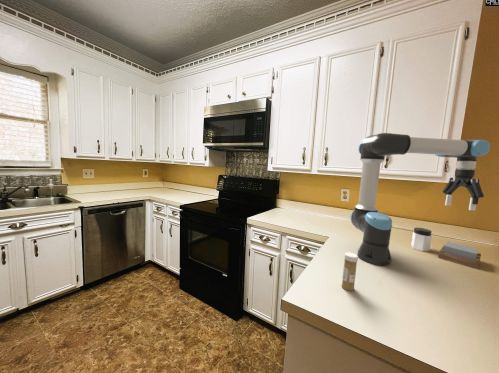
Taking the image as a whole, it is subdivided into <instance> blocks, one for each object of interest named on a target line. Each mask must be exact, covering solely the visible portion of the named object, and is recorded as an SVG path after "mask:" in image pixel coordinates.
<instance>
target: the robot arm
mask: <svg viewBox="0 0 499 373" xmlns="http://www.w3.org/2000/svg"><path fill="white" fill-rule="evenodd" d="M357 148H358V149H357V150H358V153H359V154H360V159H359V160H360V161H361V162H362V167H361V176H360V177H361V178H360V183H359V184H360V185H359V193H358V194H359V195H358V200H357V201H358V202H357V204H355V205H354V209H353V211H352V212H351V214H350V216H349V217H350V223H351V224H352V225H353V226H354V227H355V228H356V229H357V230H359V231H361V232H362V233H363V236H362V242H361V244H360V246H359V248H358V249H357V254H356V255H357V256H358V259H361V260H362V261H364V262H366V263H369V264H372V265H377V266H389V265H391V264H392V256H391V252H390V240H391V233H392V228H393V220H392V218H391V217H390V216H389V215H387V214H385V213H381V212H379V210H378V208H377V206H376V201H377V193H378V186H379V176H380V170H381V164H382V163H383V162H384V161H385V157H386V156H393V155H399V156H400V155H406V154H419V155H420V154H421V155H422V154H423V155H434V156H436V157H440V158H456V164H455V171H454V176H455V177H449V180H448V182H447V184H446V186H445V187H444V188H443V190H442V193H443V194H445V202H444V206H446V207H451V206H452V201H453V193H454V192H455V191H456V190H457V189H458V188H459V187H463V188H464V187H465V188H466V190H467V191H468V193H469V194H470V195H471V197H470V198H469V199H470V200H469V205H468V211H476V209H477V205H478V203H479V199H481V198H484V196H485V195H484V192H483V190H482V187H481V185H480V178H474V177H475V173H476V170H475V169H476V166H477V160H478V157H482V156H485V155H487V154H488V153H489V152H490V150H491V144H490V142H489V141H488V140H486V139H465V140H464V139H453V138H452V139H450V138H449V139H448V138H432V137H413V136H410V135H409V134H401V133H389V132H380V133H377V134H373V135H372V134H371V135H369V136H366V137H364V138H363V139H362V140H361V141H360V142H359V144H358V147H357Z"/></svg>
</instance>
